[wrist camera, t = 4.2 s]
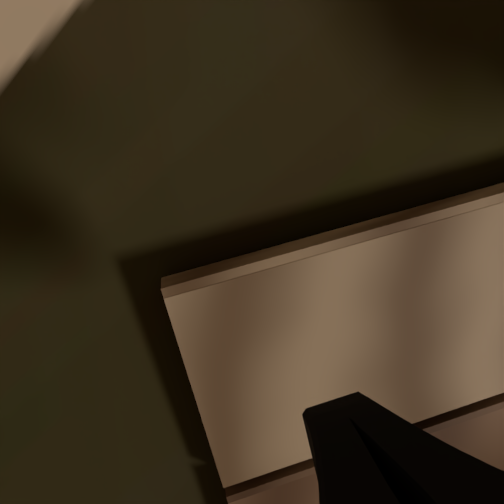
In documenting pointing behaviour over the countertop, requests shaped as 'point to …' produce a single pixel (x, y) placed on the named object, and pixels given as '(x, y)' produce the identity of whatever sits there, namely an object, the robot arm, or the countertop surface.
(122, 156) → the countertop surface
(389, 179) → the countertop surface
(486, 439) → the laid board
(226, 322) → the plank
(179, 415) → the countertop surface
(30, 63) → the countertop surface
